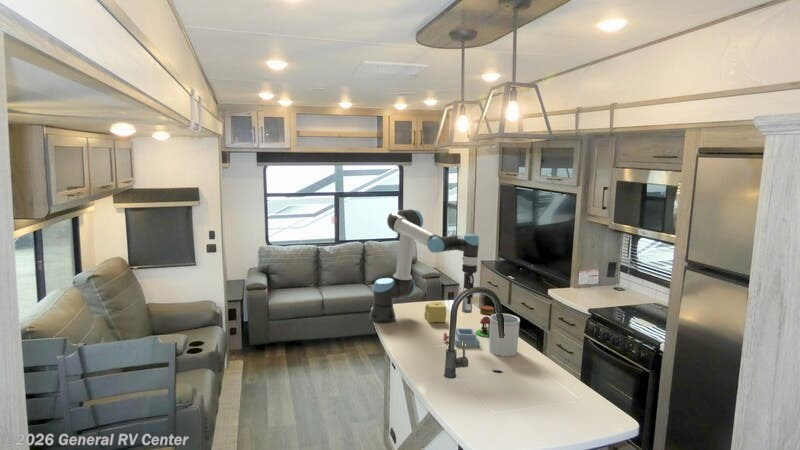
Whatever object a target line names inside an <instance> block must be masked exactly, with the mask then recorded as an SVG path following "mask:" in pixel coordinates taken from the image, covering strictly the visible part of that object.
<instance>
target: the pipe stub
mask: <svg viewBox="0 0 800 450" xmlns="http://www.w3.org/2000/svg"><path fill="white" fill-rule="evenodd" d="M465 290H467V288H464V287H463V289H462V291H465ZM465 307H466V298H464V299H463V298H462V307H461V312H462V313H464V314H472V313H473V298H472V300H471V310H465Z"/></svg>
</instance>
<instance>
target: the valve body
mask: <svg viewBox="0 0 800 450" xmlns="http://www.w3.org/2000/svg"><path fill="white" fill-rule="evenodd" d="M455 331H456V339H455V344H454V345H455V347H459V346H462V342H463V341H464V342H465V344H466V346H471V347H470V348H479V347H480V340H479V338H478V336H477V334H476V332H475V330H474V329H473V328H458V327H457V328H455ZM449 336H450V335H448V334H447V332H443V342H444V341H446V342H445V343H447V341H448V340H449V339H448V338H449Z"/></svg>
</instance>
